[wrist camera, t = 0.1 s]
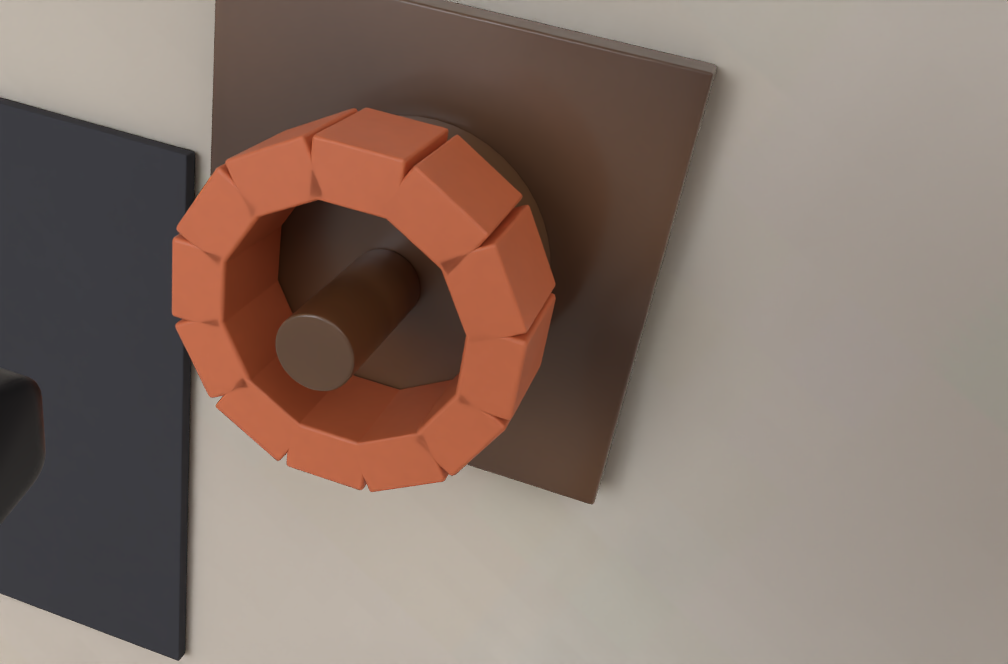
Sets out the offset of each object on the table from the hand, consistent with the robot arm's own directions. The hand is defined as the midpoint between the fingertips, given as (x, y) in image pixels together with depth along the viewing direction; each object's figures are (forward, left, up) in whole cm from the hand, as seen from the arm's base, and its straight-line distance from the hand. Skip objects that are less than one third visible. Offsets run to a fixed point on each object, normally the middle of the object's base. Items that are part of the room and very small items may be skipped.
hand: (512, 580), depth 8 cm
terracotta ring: (-4, +5, -12) cm, 13 cm away
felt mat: (-12, +17, -15) cm, 26 cm away
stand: (-4, +5, -15) cm, 16 cm away
